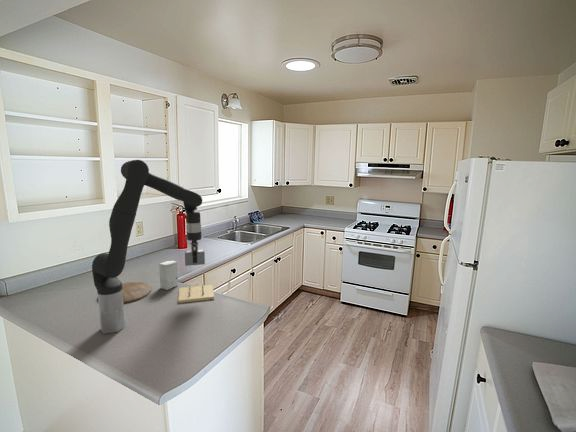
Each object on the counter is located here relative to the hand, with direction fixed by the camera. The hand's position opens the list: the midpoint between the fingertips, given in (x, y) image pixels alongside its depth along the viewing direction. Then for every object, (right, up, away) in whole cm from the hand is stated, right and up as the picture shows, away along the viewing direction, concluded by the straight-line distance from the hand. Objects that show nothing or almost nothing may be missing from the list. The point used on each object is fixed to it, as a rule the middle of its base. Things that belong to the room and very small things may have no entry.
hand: (195, 261), depth 162 cm
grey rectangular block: (0, -1, 0) cm, 1 cm away
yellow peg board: (0, -19, +3) cm, 19 cm away
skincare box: (-19, -17, +13) cm, 29 cm away
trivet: (-39, -19, +3) cm, 43 cm away
